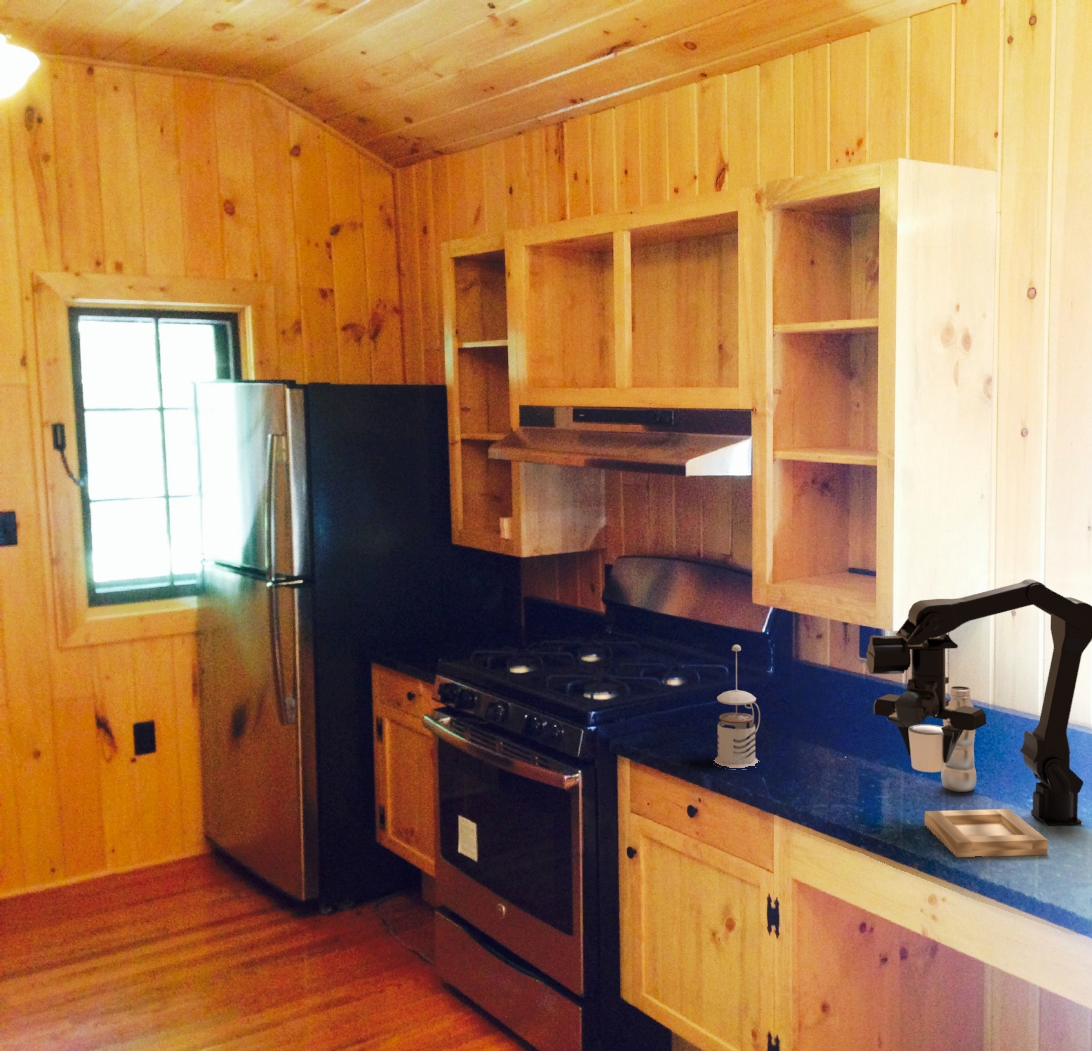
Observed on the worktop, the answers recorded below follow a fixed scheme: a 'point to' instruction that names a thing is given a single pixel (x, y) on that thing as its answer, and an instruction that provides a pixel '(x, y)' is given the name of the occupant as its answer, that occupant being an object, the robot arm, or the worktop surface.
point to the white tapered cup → (927, 748)
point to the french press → (736, 729)
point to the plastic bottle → (960, 749)
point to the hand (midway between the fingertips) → (928, 758)
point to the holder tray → (985, 833)
